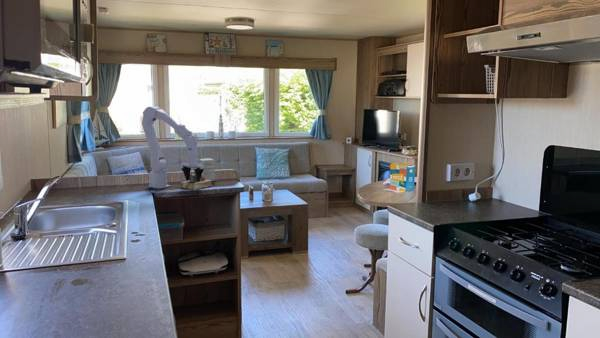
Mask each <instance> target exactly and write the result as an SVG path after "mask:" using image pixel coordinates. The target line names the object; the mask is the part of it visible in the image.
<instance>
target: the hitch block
mask: <svg viewBox="0 0 600 338" xmlns="http://www.w3.org/2000/svg"><path fill="white" fill-rule="evenodd" d="M196 182H197V181H196ZM180 183H181V184H180V185H181V189H186V188H187V189H188V190H195V191H196V190H199V189H204V188H207V187H212V185H213V184H212V181H211V180H202V179H200V182H197V183H190V180H188V181H181V182H180Z"/></svg>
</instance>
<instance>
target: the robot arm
mask: <svg viewBox="0 0 600 338" xmlns="http://www.w3.org/2000/svg"><path fill="white" fill-rule="evenodd" d="M156 120H161V121H163V122H164V123H166V124H167V125H168V126H169V127H171V128H173V130H174V133H175V134H176V135H177V136H178V137H179V138H181V139H182V140H183V142H184V144H185V146H186V148H185V149H186V163H185V162H183V163H181V171H182V172H183V174H184V177H185V180H186V181H190V177H189V175H191V170H192V169H193V171H194V174H195V175H196V181H197V182H200V179H201V175H202V173H203V171H204V165H200V164H199V160H198V159H199V158H198V141H199V137H198V135H197V134H196V133H193V131H191V130H190V129H188V128H187V127H186V125H185V124H181V123H180V124H179V123H178V122H176V121H175V120H174V119H173V118H172V117H171V116H170V115H169V114H168V113H167V112H166V111H165V110H164V109H162V108H161V107H160V106H157V105H155V106H146V108H144V110H143V112H142V121H141V125H142V126H141V127H142V129H143V132H144V135H145V140H146V142H147V145H148V148H149V152H150V157H149V158H150V159H149V160H150V169H151V171H150V172H149V173H148V184H149V185H148V188H153V189H163V188H168V187H171V184H168V175H167V168H168V165H169V162H168V160H167V159H166V157H165V155H164V154H163V153H162V151H161V147H160V144H159V140H158V138H157V135H156V134H157V133H156V131H155V127H154V124H155V122H156ZM186 181H185V182H186Z"/></svg>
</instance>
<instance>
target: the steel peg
mask: <svg viewBox="0 0 600 338" xmlns="http://www.w3.org/2000/svg"><path fill="white" fill-rule="evenodd" d="M189 177H190V180H189V181H190V183H197V182H196V174H195V173H193V174H190V175H189Z"/></svg>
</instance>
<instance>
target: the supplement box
mask: <svg viewBox="0 0 600 338" xmlns="http://www.w3.org/2000/svg"><path fill="white" fill-rule="evenodd" d="M198 159H199V160H198V164H200V165H204V171H203V173H202V176H203V177H204V178H205V179H206V180H211V182H215V181H216V170H215V169H216V168H215V166H216V165H215V161H216V160H215V159H213V158H208V157H206V158H198Z"/></svg>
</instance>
